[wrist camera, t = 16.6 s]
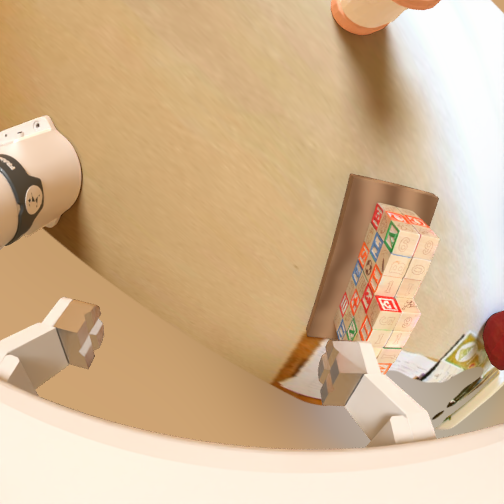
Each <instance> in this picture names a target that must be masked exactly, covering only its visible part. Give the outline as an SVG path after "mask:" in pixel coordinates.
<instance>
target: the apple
mask: <svg viewBox="0 0 504 504" xmlns="http://www.w3.org/2000/svg"><path fill="white" fill-rule="evenodd" d="M483 340H484V347H485V350H486V353H487V355H488V357H489V360H490V362H491V364H492V365H493V366H495V367H496V368H497V369H499V370H504V311H501V312H498V313H495V314H493V315H492V316H491V317H490V318H489V319H488V321H487V322H486V325H485V329H484V332H483Z"/></svg>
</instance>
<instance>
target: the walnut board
mask: <svg viewBox="0 0 504 504" xmlns="http://www.w3.org/2000/svg"><path fill="white" fill-rule="evenodd" d="M438 199H439V198H438V197H437V196H435V195H434V194H433V193H429V192H425V191H421V190H418V189H414V188H410V187H406V186H402V185H398V184H394V183H390V182H386V181H382V180H377V179H373V178H369V177H364V176H360V175H355V174H350V177H349V181H348V185H347V189H346V193H345V197H344V201H343V205H342V209H341V213H340V217H339V220H338V224H337V228H336V232H335V235H334V239H333V242H332V246H331V250H330V253H329V257H328V260H327V264H326V267H325V270H324V274H323V277H322V280H321V284H320V287H319V290H318V294H317V297H316V300H315V303H314V306H313V309H312V313H311V316H310V319H309V322H308V325H307V328H306V330H307V336H309V337H320V338H332V339H338V335H337V332H336V328H335V324H334V318H335V315H336V313H337V310H338V308H339V306H340V303H341V301H342V298H343V296H344V294H345V292H346V290H347V287H348V285H349V282H350V279H351V277H352V274H353V271H354V268H355V266H356V263H357V260H358V256H359V253H360V251H361V248H362V245H363V242H364V240H365V237H366V234H367V231H368V228H369V225H370V223H371V220H372V217H373V214H374V211H375V208H376V204H377V203H383V204H387V205H391V206H395V207H399V208H403V209H407V210H411V211H413V212H414V213H415V214H416V215H417V216H418V217H420V218H421V219H422V220H423V221H424V222H425V223H426V224H427V225H428V226H430V223H431V220H432V217H433V215H434V212H435V209H436V206H437V202H438Z"/></svg>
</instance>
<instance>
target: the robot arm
mask: <svg viewBox="0 0 504 504" xmlns="http://www.w3.org/2000/svg"><path fill="white" fill-rule="evenodd" d="M38 124H39V125H40V126H38ZM80 187H81V167H80V163H79V159H78V156H77V154H76V152H75V150H74V148H73V146H72V145H71V143H70V142H69V141H68V140H67V139H66V138H65V137H64V136H63V135H62V134H60V133H59V132H58V131H57V130H56V128H55V126H54V124H53V122H52V120H51V119H50V117H49V116H42V117H39V118H36V119H33V120H30V121H27V122H25V123H22V124H19V125H17V126H14V127H11V128H9V129H6V130H4V131H1V132H0V249H1V248H3V247H4V246H7V245H10V244H12V243H13V242H15V241H17V240H18V239H20V238H21V237H22V236H23V235H24V236H25V237H28V236H30V235H32V234H33V233H34V232H36V231H38V230H40V229H41V228H43V227H44V226H46V227H49V228H52V227H53V226H55V225H56V224H57V223H58V221H59V218H60V216H61V215H62V214H63V213H64V212H65V211H66V210H68V209H69V208H70V207H71V206H72V205H73V204H74V202H75V201H76V199H77V197H78V194H79V191H80ZM100 315H101V312H100V308H99V306H97V305H94V304H90V303H86V302H82V301H79V300H75V299H74V300H73V299H70V298H66V297H62V298H60V299H59V301H58V302H57V303H56V305H55V306H54V307H53V308H52V310H51V311H50V312H49V314H48V315H47V316H46V318H45V319H44V321H43V322H42V323H36V324H34V325H32V326H30V327H28V328H26V329H24V330H22V331H20V332H17V333H15V334H13V335H11V336H9V337H7V338H5V339H3V340H1V341H0V504H504V423H502V424H498V425H495V426H491V427H487V428H484V429H480V430H476V431H472V432H467V433H463V434H458V435H454V436H449V437H443V438H438V439H437V438H436V435H435V433H434V429H433V426H432V423H431V421H430V418H429V415H428V412H427V411H426V410H425V409H423V408H422V407H421V406H420V405H419V404H418V403H417V402H415V401H414V400H413V399H412V398H411V397H410V396H409V395H408V394H407V393H405V392H404V391H403V390H402V389H401V388H400V387H399V386H398V385H396V384H395V383H394V382H393V381H392V380H391V379H390V378H389V377H387V376H386V375H385V374H381V371H380V368H379V365H378V362H377V359H376V356H375V353H374V350H373V347H372V344H371V342H370V341H352V340H335V339H330V340H329V341H328V342H327V345H326V352H327V353H325V354H324V355H322V357H321V360H320V362H319V368H318V376H319V381H320V382H321V383H322V384H323V386H322V388H321V390H320V391H321V398H322V405H333V406H345V408H346V409H347V411H348V412H349V413H350V414H351V416H352V417H353V418H354V420H355V421H356V422H357V424H358V425H359V426H360V427H361V429H362V430H363V431H364V432H365V434H366V435H367V436H368V438H369V439H370V440H371V442H370V443H369V444H368V445H367V446H366V447H365V448H348V449H281V448H263V447H250V446H240V445H229V444H221V443H213V442H207V441H199V440H193V439H187V438H182V437H177V436H171V435H166V434H161V433H157V432H152V431H147V430H143V429H139V428H135V427H130V426H127V425H123V424H119V423H116V422H112V421H108V420H105V419H102V418H98V417H95V416H92V415H89V414H86V413H83V412H80V411H76V410H74V409H71V408H68V407H65V406H62V405H60V404H57V403H54V402H52V401H49V400H47V399H44V398H42V397H39V396H38V394H37V392H36V391H35V389H37V388H38V387H39V386H41V385H42V384H43V383H45V382H46V381H48V380H49V379H50V378H51V377H53V376H54V375H56V374H57V373H59V372H60V371H61V370H63V369H64V368H65V367H67V366H68V365H69V364H71V365H75V366H78V367H82V368H86V369H89V367H90V365H91V363H92V361H93V359H94V357H95V355H94V350H96V349H98V348H99V347H100V345H101V343H102V340H103V336H104V327H103V323H102V322H101V321H100V319H99V316H100Z"/></svg>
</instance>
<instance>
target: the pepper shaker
mask: <svg viewBox="0 0 504 504" xmlns="http://www.w3.org/2000/svg"><path fill="white" fill-rule="evenodd" d="M439 1H440V0H332V1H331V11H332V15H333V17H334V19H335V20H336V22H337V23H338V24H339V25H340V26H341V27H342V28H343V29H345V30H347V31H349V32H351V33H353V34H357V35H369V34H371V33H374V32H376V31H378V30H381V29H383V28H384V27H385V26H387V25H388V24H389V23H390V22H392V21H394V20H395V19H396V18H397V17H398V16H399V15H400V14H401V13H402V12H403V11H404V10H406V9H408V8H409V9H416V10H426V9H429V8H433V7H434V6H435V5H436V4H437V3H438V2H439Z"/></svg>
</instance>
